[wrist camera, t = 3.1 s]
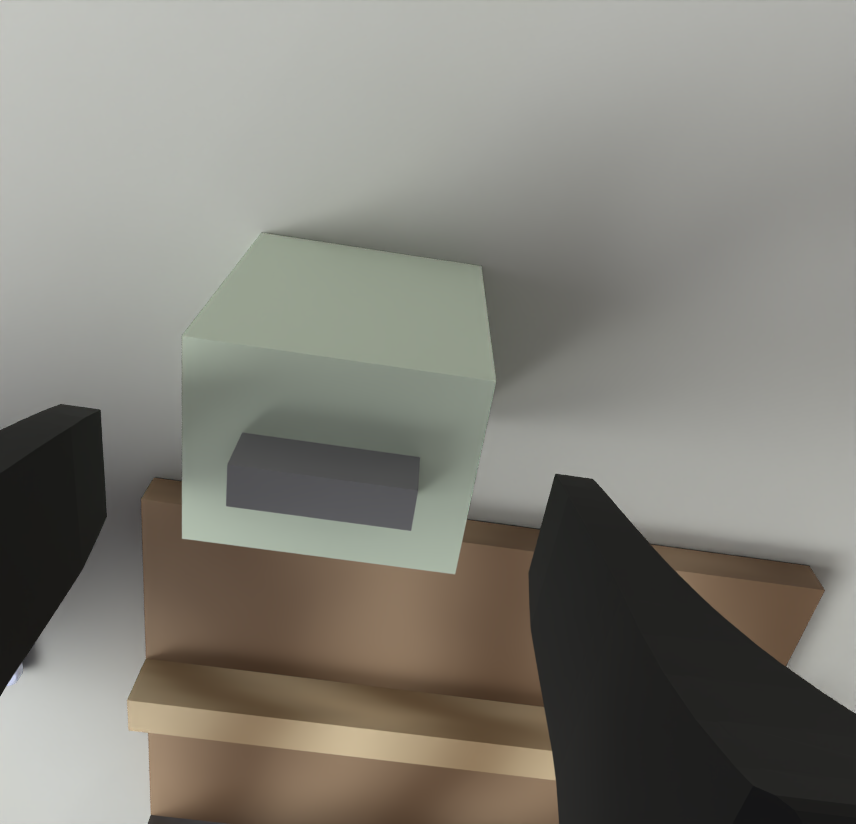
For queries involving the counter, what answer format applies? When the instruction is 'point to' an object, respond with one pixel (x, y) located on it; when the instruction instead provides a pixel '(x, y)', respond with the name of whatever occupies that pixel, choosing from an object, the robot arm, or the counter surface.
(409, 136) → the counter surface
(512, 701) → the cleat board
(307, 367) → the cabinet block
